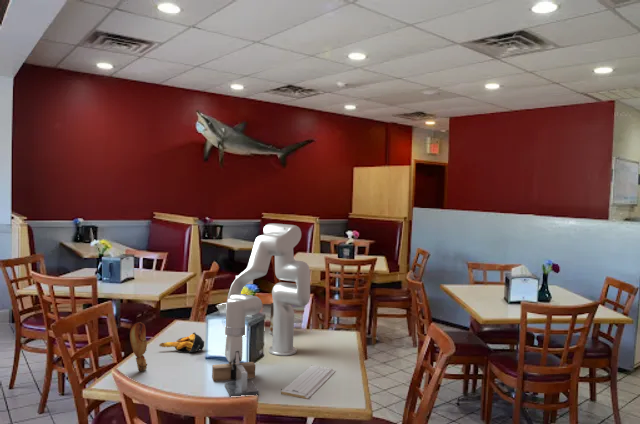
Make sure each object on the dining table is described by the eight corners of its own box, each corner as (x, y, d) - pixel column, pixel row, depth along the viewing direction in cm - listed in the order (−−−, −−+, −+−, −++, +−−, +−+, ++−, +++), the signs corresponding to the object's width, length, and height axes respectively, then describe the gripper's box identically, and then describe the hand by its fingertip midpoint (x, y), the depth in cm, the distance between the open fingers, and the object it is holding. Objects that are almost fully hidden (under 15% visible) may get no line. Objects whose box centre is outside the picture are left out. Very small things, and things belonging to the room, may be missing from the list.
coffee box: (268, 334, 258) (270, 303, 257) (275, 331, 264) (276, 301, 263) (284, 337, 254) (286, 305, 254) (290, 334, 260) (292, 303, 260)
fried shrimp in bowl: (207, 344, 223) (167, 334, 216) (197, 363, 226) (158, 354, 219) (206, 331, 231) (168, 321, 224) (197, 349, 234) (159, 340, 227)
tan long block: (212, 377, 196) (212, 365, 196) (252, 374, 202) (253, 361, 201) (213, 381, 192) (214, 368, 192) (255, 377, 198) (255, 365, 198)
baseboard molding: (338, 373, 208) (311, 368, 212) (339, 366, 208) (311, 362, 212) (311, 401, 179) (280, 395, 183) (311, 393, 179) (281, 387, 183)
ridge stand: (224, 386, 188) (225, 365, 187) (251, 383, 191) (251, 362, 191) (230, 398, 178) (231, 375, 177) (258, 395, 181) (259, 373, 181)
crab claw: (127, 372, 197) (129, 322, 197) (134, 368, 202) (135, 318, 202) (144, 374, 196) (145, 323, 196) (150, 370, 201) (152, 320, 201)
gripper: (221, 325, 203) (219, 370, 203) (229, 337, 187) (228, 385, 188) (240, 324, 205) (238, 369, 206) (249, 335, 190) (247, 384, 190)
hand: (233, 376), depth 197 cm, fingers closed on tan long block, 4 cm apart
